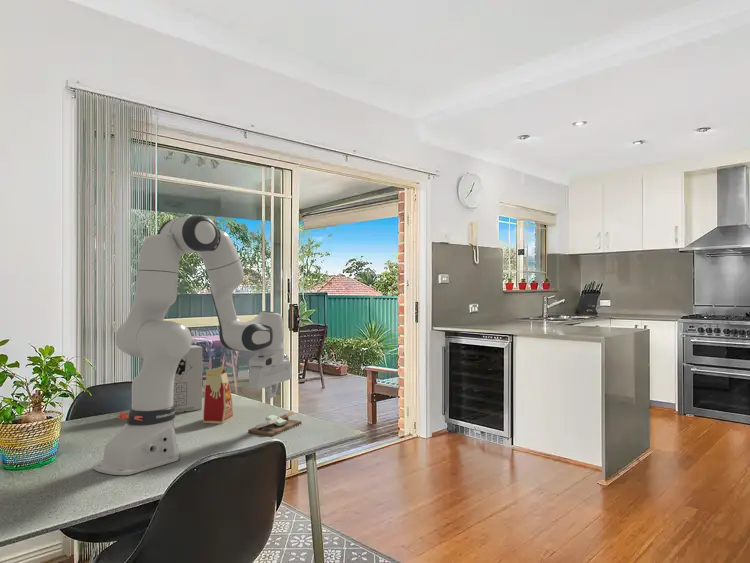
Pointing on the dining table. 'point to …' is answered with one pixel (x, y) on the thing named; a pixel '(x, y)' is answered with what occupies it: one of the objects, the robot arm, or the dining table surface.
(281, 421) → the two-dot tile
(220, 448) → the dining table surface
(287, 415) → the three-dot tile
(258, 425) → the one-dot tile
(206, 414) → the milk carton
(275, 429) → the brown flat board
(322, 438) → the dining table surface
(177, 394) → the cereal box
